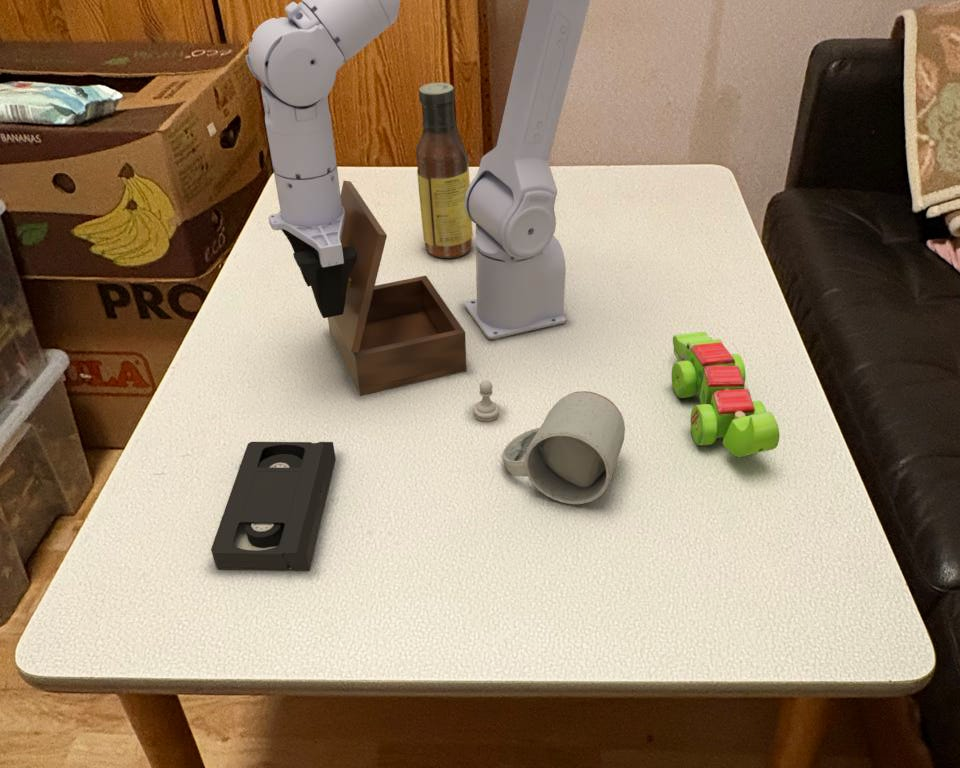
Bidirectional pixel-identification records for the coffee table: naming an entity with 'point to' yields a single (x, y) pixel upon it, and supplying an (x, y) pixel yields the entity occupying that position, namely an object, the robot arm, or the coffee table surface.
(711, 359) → the toy crocodile
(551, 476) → the ceramic mug
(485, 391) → the pawn
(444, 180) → the sauce bottle
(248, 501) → the vhs tape
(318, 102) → the robot arm
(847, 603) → the coffee table surface
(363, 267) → the lid
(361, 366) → the box
